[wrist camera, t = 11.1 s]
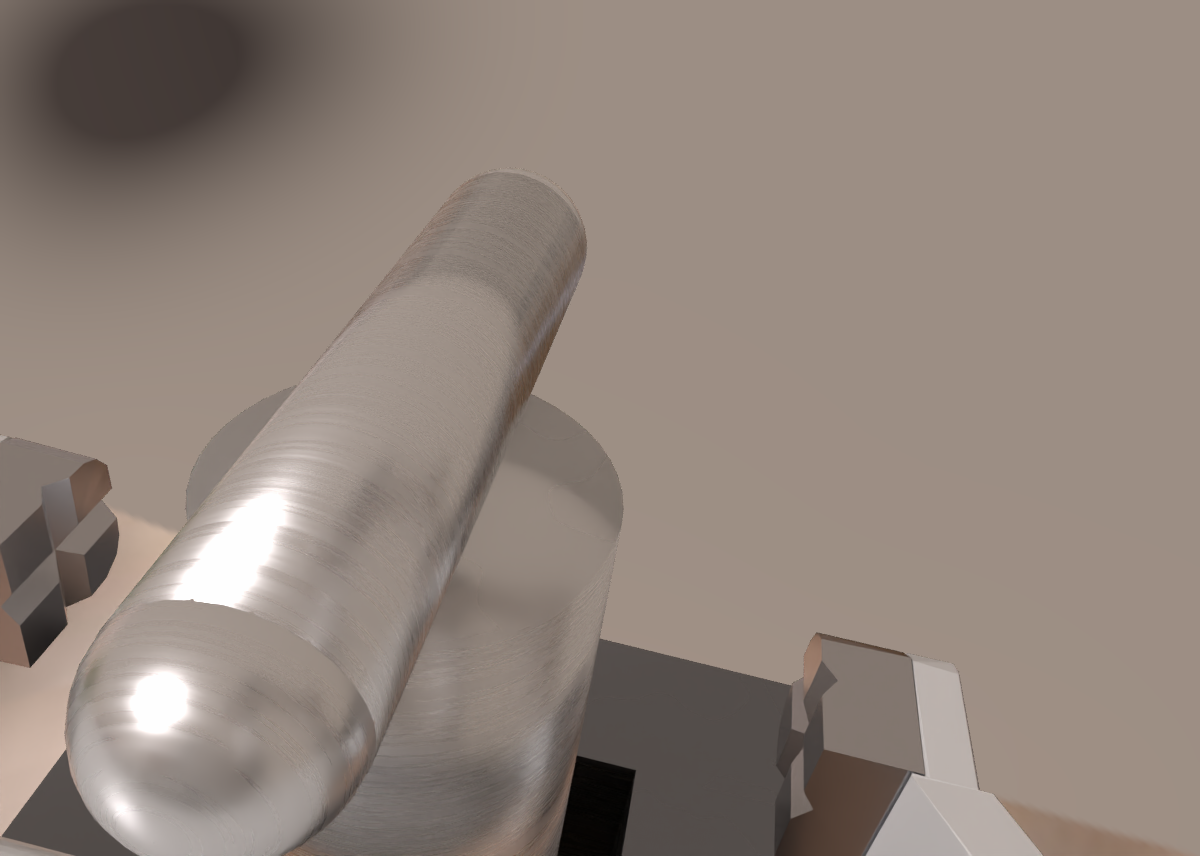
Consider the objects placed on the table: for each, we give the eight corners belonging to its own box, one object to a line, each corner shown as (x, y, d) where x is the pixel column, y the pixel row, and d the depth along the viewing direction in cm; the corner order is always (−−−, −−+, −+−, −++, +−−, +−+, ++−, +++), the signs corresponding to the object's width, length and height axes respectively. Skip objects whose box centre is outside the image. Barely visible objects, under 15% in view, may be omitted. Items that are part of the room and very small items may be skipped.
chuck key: (370, 797, 20) (374, 116, 12) (565, 843, 20) (698, 179, 12) (127, 1382, 13) (-254, 643, 5) (429, 1467, 13) (537, 830, 5)
